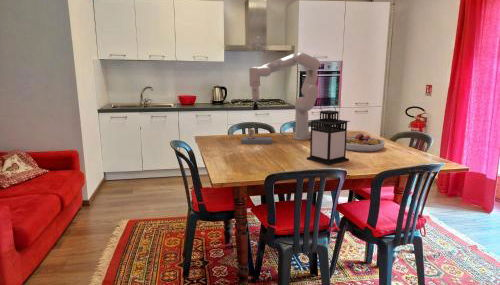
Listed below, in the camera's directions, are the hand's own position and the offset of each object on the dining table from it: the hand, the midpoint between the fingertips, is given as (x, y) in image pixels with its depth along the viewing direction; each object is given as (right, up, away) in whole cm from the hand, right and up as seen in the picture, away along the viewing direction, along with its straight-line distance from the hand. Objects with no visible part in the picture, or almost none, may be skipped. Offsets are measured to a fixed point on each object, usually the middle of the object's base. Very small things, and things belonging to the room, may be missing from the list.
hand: (255, 109), depth 266 cm
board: (+1, -24, +1) cm, 24 cm away
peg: (-3, -24, +1) cm, 24 cm away
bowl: (+71, -28, -18) cm, 78 cm away
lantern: (+42, -34, -51) cm, 74 cm away
